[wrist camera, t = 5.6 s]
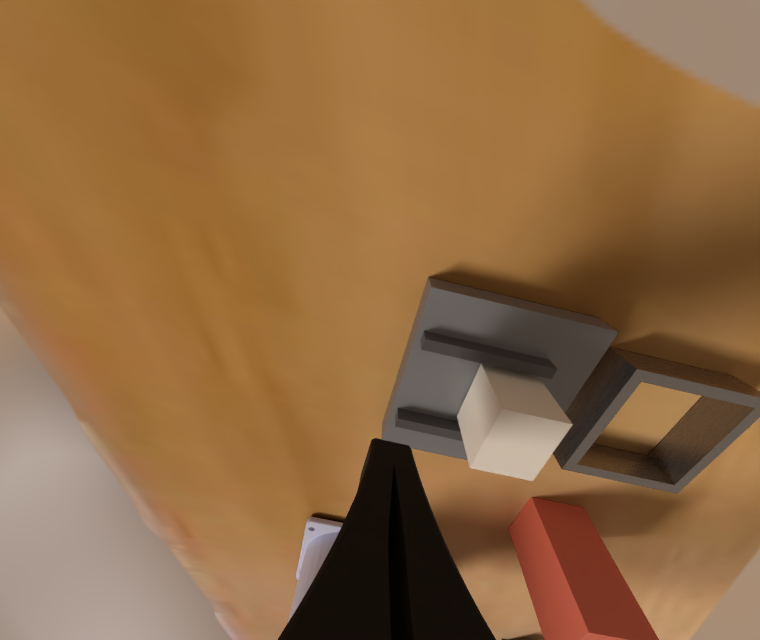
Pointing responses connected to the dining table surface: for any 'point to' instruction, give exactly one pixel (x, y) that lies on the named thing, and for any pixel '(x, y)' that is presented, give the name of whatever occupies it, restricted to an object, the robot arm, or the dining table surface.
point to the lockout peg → (574, 576)
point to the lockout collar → (681, 445)
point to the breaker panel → (483, 358)
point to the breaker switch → (510, 423)
